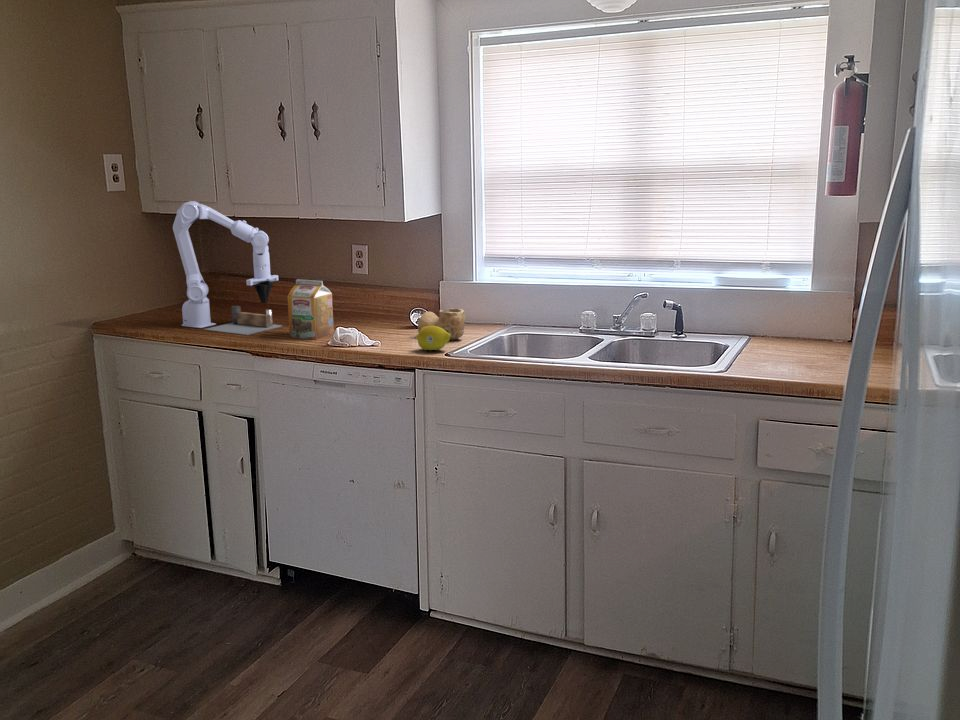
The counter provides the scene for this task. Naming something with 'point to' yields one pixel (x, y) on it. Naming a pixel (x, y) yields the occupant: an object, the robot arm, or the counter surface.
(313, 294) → the milk carton
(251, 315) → the bar
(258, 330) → the mat
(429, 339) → the lemon
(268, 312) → the hitch post
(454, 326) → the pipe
